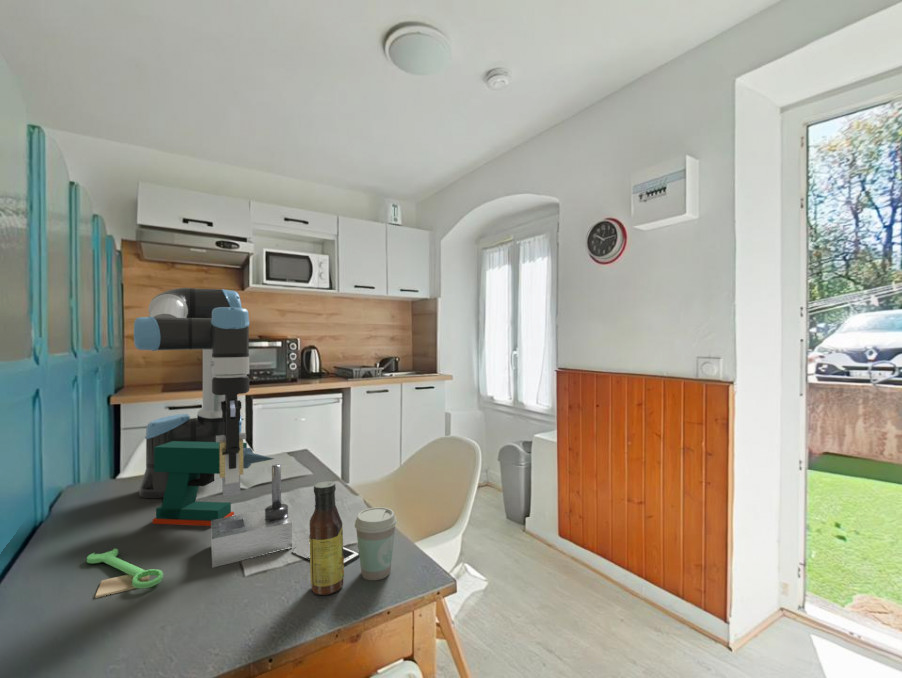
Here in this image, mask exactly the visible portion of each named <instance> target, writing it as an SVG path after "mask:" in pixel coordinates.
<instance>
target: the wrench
mask: <svg viewBox="0 0 902 678" xmlns="http://www.w3.org/2000/svg"><path fill="white" fill-rule="evenodd" d="M118 554H119V549H118V548H113V549H112V550H109V551H106V552H103V553H96V552H93V553H90V554H89V555H88V556H87V557H86V563H88V564H99V563H105V564H107V565H109V566H110V567H113V568H115V569H116V570H119V571H121V572H123V573H125V574H126V575H128V574H129V575H132V576H134V577H133V579H132V585H133V586H134V587H135V588H136V589H148V588H151V587H154V586H157V585H158V584H160V583H161V582H162V581H163V577H164V572H163V571H162V569H156V568H155V569H154V568H152V569H151V568H150V569H147V570H145V569H144V568H141V567H139V566H137V565H134V564H132V563H129V562H128V561H125V560H123V559H121V558H118V557H117V556H118ZM148 575H150V577H151V576H155V578H153V579H149V581H147V582H140V581H138V579H141V578H142V577H146V576H148Z"/></svg>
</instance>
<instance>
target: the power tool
mask: <svg viewBox="0 0 902 678" xmlns="http://www.w3.org/2000/svg"><path fill="white" fill-rule="evenodd" d="M253 451H254V450H253V449H252V448H251V447H248V442H243V470H245V469H246V470H247V469H249V468H250V467H251V465H252V464H256V463H260V462H261V463H262V462H266V461H271V460H275V458H274V457H269V456H266V455H263V454H262V455H261V454H257V453H254V452H253ZM154 472H169V476H168V481H167V485H166V489H165V494H164V497H163V499H162V502H161V503H162V504H161V505H159V506H158V507H156V508H155V517H154V518H153V519H152V524H153V525H157V524H158V525H179V526H180V525H181V526H185V525H186V526H207V527H211V520H215V519H220V518H225V517H230V516H232V515H234V516H235V512H234V511H232V502H225V501H224V502H221V501H219V502H218V501H197V495H198V493H199V492H198V491H199V487H206V486H208V485H209V484H211V483H213V482H215V474H217V475H220V474H219V442H186V441H172V442H169V443H166V444H162V445H159V446H156V447H154Z"/></svg>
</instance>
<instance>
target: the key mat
mask: <svg viewBox="0 0 902 678" xmlns="http://www.w3.org/2000/svg"><path fill="white" fill-rule="evenodd" d="M133 577H134V576H132V575H129V574H125V575H119V576H115V577H110V578H107V579H102V580H101V582H100V583H99V585H98V588H97V591H96V593H95V596H94V598H95V599H99V598H102V597H105V596H106V595H107V596H110V594H111V595H114V594H118V593H122V592H126V591H127V592H128V591H131V590H134V589H137V588H135V587H134V586H133V585H132V579H133ZM150 578H151V575H148V576H146V577H142V578H141V579H138V581H140V582H147V581H150Z"/></svg>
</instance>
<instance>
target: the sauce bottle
mask: <svg viewBox="0 0 902 678" xmlns="http://www.w3.org/2000/svg"><path fill="white" fill-rule="evenodd" d="M336 490H337V489H336V483H335V482H334V481H330V480H329V481H320V482H317V483H316V484H314V485H313V493H314V511H313V513H312V515H311V517H310V519H309V535H308V536H309V537H308V538H309V544H310V561H309V569H310V570H309V571H310V573H309V574H310V575H309V576H310V584H311V590H312V592H313V593H314V594H316V595H320V596H327V595H331V594H335V593H336V592H339V590H341V589H342V587H343V586H344V578H345V566H344V557H343V546H344V536H343V535H344V533H343V528H344V527H343V522H342V519H341V516H340V513H339V509H338V508H337V505H336Z"/></svg>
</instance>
